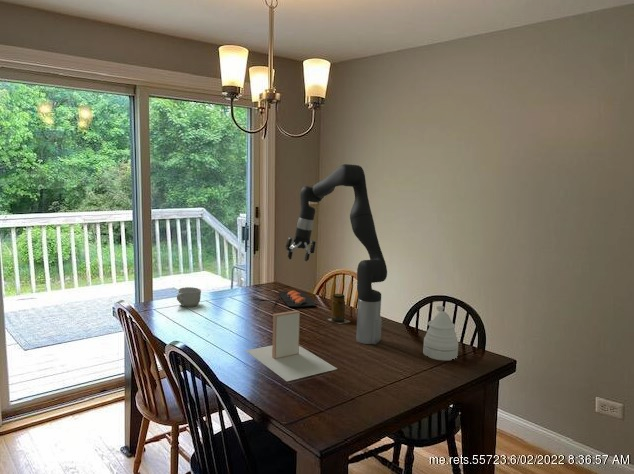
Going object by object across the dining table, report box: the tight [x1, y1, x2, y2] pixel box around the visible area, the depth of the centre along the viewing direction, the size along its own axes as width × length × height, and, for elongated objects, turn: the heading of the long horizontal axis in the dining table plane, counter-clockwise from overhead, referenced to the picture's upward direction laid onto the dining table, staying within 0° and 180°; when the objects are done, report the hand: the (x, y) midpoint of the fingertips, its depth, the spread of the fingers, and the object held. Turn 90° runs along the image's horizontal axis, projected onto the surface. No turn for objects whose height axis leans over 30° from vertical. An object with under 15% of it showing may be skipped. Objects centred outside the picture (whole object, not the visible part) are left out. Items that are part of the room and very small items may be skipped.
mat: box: [245, 344, 338, 385], centre depth 170 cm, size 30×20×1 cm, turn 34°
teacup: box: [176, 286, 202, 308], centre depth 234 cm, size 14×11×8 cm
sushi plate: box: [252, 290, 317, 310], centre depth 248 cm, size 29×30×4 cm
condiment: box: [327, 293, 352, 325], centre depth 218 cm, size 7×8×12 cm
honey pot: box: [422, 305, 460, 361], centre depth 182 cm, size 13×13×18 cm
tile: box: [271, 310, 301, 359], centre depth 172 cm, size 2×10×16 cm, turn 124°
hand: (297, 259), depth 234 cm, fingers open, 8 cm apart
